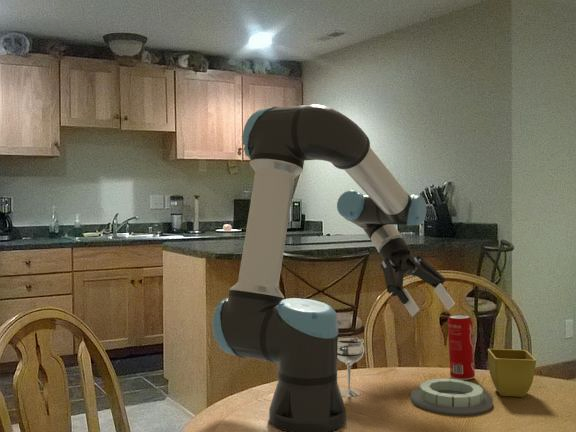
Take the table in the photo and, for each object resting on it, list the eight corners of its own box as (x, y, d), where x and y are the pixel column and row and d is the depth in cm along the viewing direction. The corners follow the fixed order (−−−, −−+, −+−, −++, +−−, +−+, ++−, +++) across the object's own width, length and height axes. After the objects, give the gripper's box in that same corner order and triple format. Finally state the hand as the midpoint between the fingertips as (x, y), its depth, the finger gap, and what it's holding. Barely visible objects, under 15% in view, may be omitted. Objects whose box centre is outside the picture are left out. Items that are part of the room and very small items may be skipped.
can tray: (423, 416, 134) (423, 401, 134) (402, 389, 151) (402, 376, 151) (505, 414, 136) (505, 399, 135) (475, 388, 153) (475, 375, 152)
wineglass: (369, 396, 147) (370, 342, 146) (341, 399, 144) (342, 344, 144) (355, 387, 153) (355, 335, 153) (328, 390, 151) (328, 338, 150)
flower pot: (525, 388, 153) (526, 349, 152) (536, 400, 144) (537, 359, 144) (486, 387, 154) (487, 348, 153) (494, 399, 145) (495, 358, 144)
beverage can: (475, 381, 157) (476, 319, 157) (447, 380, 159) (448, 317, 158) (473, 374, 163) (474, 314, 162) (446, 373, 165) (447, 312, 164)
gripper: (414, 251, 189) (456, 312, 178) (349, 257, 173) (391, 324, 162) (429, 233, 184) (473, 295, 173) (364, 238, 169) (408, 306, 158)
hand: (434, 309), depth 168 cm, fingers open, 13 cm apart
